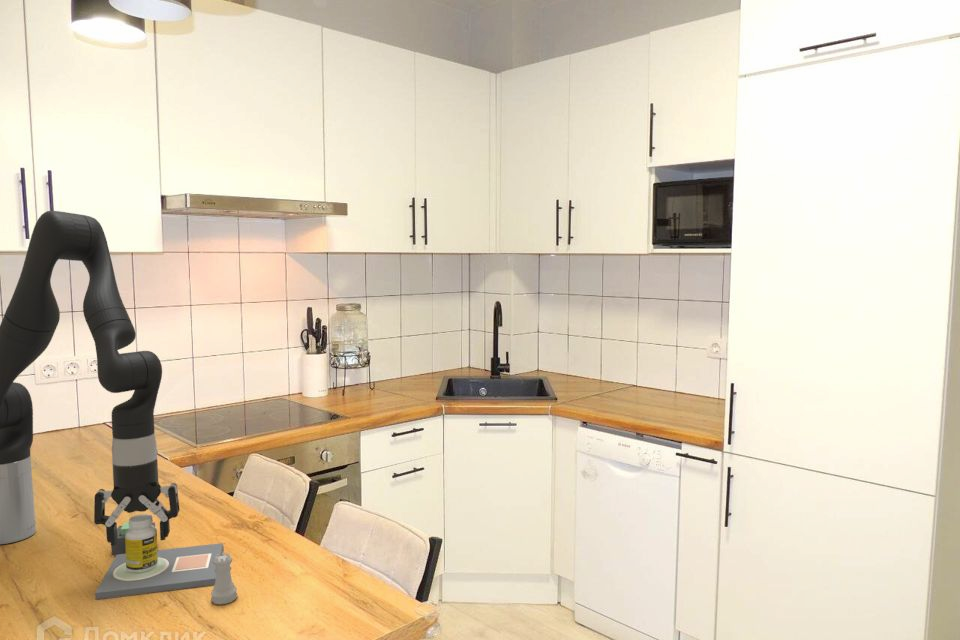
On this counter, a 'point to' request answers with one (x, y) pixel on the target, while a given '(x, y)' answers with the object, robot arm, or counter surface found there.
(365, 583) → the counter surface
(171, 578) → the picture board
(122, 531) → the button
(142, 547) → the supplement bottle
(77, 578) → the counter surface
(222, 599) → the rook chess piece
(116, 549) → the button housing
